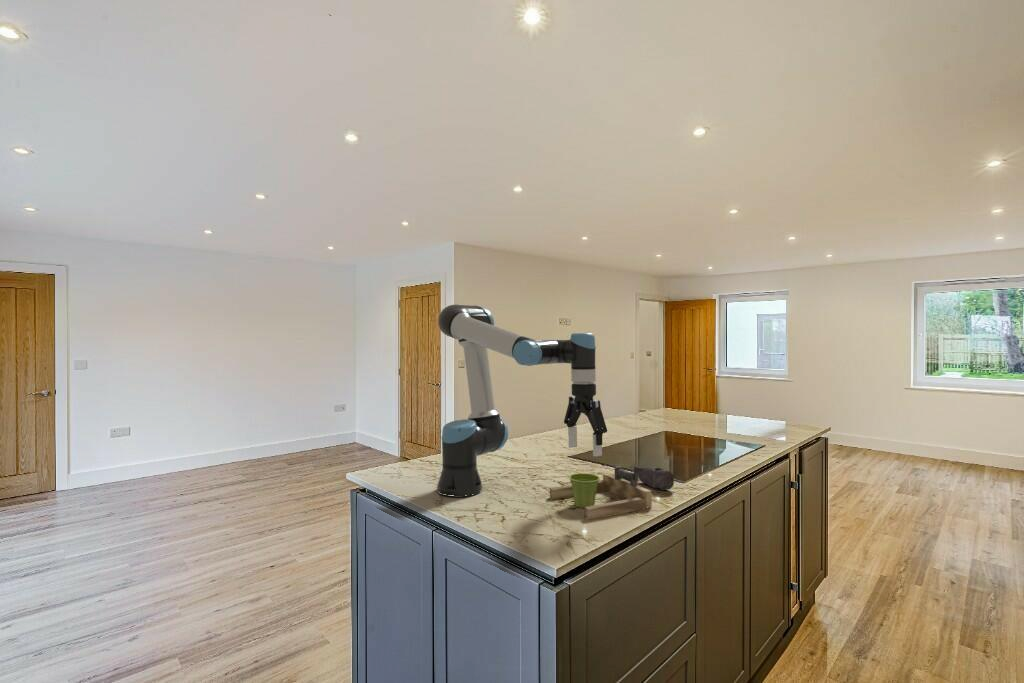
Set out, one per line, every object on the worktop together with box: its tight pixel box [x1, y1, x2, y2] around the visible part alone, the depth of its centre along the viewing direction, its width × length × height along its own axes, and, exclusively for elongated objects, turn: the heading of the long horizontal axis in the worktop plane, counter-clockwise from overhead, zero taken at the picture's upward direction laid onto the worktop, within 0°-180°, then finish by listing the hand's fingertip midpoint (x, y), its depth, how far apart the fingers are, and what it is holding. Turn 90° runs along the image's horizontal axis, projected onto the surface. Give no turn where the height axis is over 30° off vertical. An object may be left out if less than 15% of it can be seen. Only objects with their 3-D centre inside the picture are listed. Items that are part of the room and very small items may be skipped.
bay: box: [549, 465, 653, 520], centre depth 153 cm, size 22×23×11 cm
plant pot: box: [568, 472, 601, 509], centre depth 151 cm, size 9×9×9 cm
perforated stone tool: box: [638, 466, 675, 491], centre depth 169 cm, size 15×5×7 cm, turn 27°
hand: (584, 451), depth 151 cm, fingers open, 13 cm apart
